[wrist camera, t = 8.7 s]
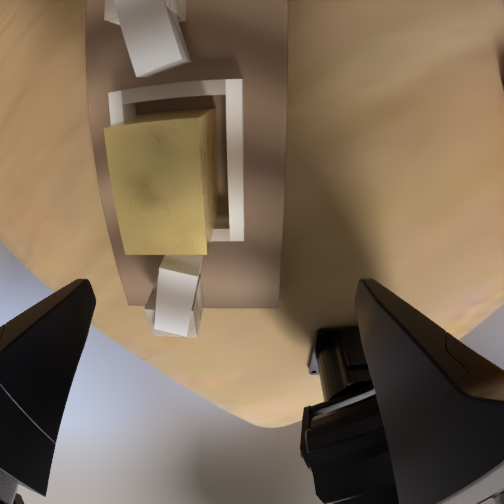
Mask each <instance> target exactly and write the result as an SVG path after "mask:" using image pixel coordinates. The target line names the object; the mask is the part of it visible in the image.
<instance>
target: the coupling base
mask: <svg viewBox="0 0 504 504" xmlns="http://www.w3.org/2000/svg"><path fill="white" fill-rule="evenodd" d="M86 75H87V92H88V106H89V117H90V126H91V135H92V143H93V150H94V157H95V164H96V170H97V176H98V182H99V188H100V193H101V199H102V204H103V209H104V213H105V218H106V223H107V227H108V232H109V236H110V240H111V244H112V248H113V252H114V256H115V260H116V264H117V267H118V271H119V275H120V278H121V282H122V285H123V289H124V292H125V295H126V299H127V302H128V305H134V306H145V309H144V310H145V314H146V317H147V320H148V324H149V327H150V330H151V334H152V335H155V336H172V337H194V338H198V332H199V327H200V321H201V316H202V310H203V308H278V304H279V288H280V272H281V255H282V236H283V215H284V193H285V166H286V133H287V83H288V0H87V11H86ZM202 107H216V115H217V149H218V176H219V200H220V205H219V209H218V213H217V217H216V221H215V225H214V229H213V233H212V237H211V242H210V246H209V250H208V254H207V255H125V251H124V247H123V242H122V238H121V233H120V229H119V224H118V219H117V214H116V209H115V203H114V198H113V192H112V186H111V180H110V173H109V167H108V160H107V152H106V144H105V136H104V128H105V127H108V126H110V125H113V124H116V123H118V122H121V121H124V120H127V119H129V118H132V117H135V116H138V115H141V114H144V113H147V112H154V111H163V110H174V109H186V108H202Z"/></svg>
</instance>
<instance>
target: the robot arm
mask: <svg viewBox="0 0 504 504" xmlns="http://www.w3.org/2000/svg"><path fill="white" fill-rule="evenodd" d="M95 306H96V298H95V295H94V292H93V289H92V286H91V284H90V281H89V280H88V279H77V280H75V281H73V282H71V283H70V284H68V285H66V286H65V287H63V288H61V289H60V290H58V291H56V292H55V293H53V294H51V295H50V296H48V297H47V298H45V299H43V300H42V301H40V302H38V303H37V304H35V305H34V306H32V307H30V308H29V309H27V310H26V311H24V312H23V313H21V314H19V315H18V316H16V317H15V318H14V319H12V320H10V321H9V322H7V323H6V324H4V325H3V326H1V327H0V504H24V502H23V500H22V497H21V495H19V494H17V493H16V492H17V488H18V485H19V484H20V485H22V486H24V487H26V488H28V489H30V490H32V491H34V492H36V493H38V494H40V495H42V496H46V492H47V486H48V479H49V475H50V469H51V464H52V459H53V454H54V449H55V443H56V440H57V436H58V432H59V427H60V424H61V420H62V416H63V412H64V409H65V405H66V401H67V398H68V394H69V391H70V388H71V385H72V381H73V378H74V375H75V372H76V369H77V365H78V362H79V360H80V357H81V354H82V351H83V348H84V345H85V342H86V339H87V336H88V332H89V328H90V324H91V320H92V317H93V313H94V309H95ZM355 309H356V314H357V320H358V325H359V327H344V328H325V329H319V330H318V331H317V332H316V336H315V341H314V346H313V351H312V356H311V360H310V365H309V374H311V375H316V374H320V379H321V385H322V391H323V396H324V402H322V403H319V404H316V405H313V406H307V407H304V412H303V419H302V432H301V444H300V450H301V457H302V458H303V459H304V460H305V463H306V465H307V466H308V468H309V469H310V471H312V473H313V477H314V483H315V490H316V495H317V496H318V497H319V499H320V500H321V501H322V502H323V503H324V504H329V503H333V504H504V370H502V369H501V368H499V367H498V366H496V365H495V364H493V363H491V362H490V361H489V360H487V359H485V358H484V357H482V356H481V355H479V354H478V353H476V352H475V351H473V350H472V349H470V348H469V347H467V346H466V345H464V344H463V343H462V342H460V341H459V340H457V339H456V338H455V337H453V336H452V335H451V334H449V333H448V332H446V331H445V330H444V329H443V328H441V327H440V326H439V325H437V324H436V323H434V322H433V321H432V320H430V319H429V318H428V317H426V316H425V315H424V314H422V313H421V312H419V311H418V310H417V309H415V308H414V307H412V306H411V305H410V304H408V303H407V302H405V301H404V300H403V299H401V298H400V297H398V296H397V295H395V294H394V293H393V292H391V291H390V290H388V289H387V288H385V287H384V286H383V285H381V284H380V283H378V282H377V281H375V280H374V279H372V278H367V279H361V280H360V281H359V283H358V288H357V292H356V297H355Z"/></svg>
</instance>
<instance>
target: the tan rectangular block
mask: <svg viewBox="0 0 504 504" xmlns="http://www.w3.org/2000/svg"><path fill="white" fill-rule="evenodd" d="M104 136H105V144H106V152H107V160H108V167H109V173H110V180H111V186H112V192H113V198H114V203H115V209H116V214H117V219H118V224H119V229H120V233H121V238H122V242H123V247H124V251H125V255H207V254H208V250H209V246H210V242H211V237H212V233H213V229H214V225H215V221H216V217H217V213H218V209H219V205H220V200H219V176H218V149H217V115H216V107H202V108H186V109H174V110H163V111H154V112H147V113H144V114H141V115H138V116H135V117H132V118H129V119H127V120H124V121H121V122H118V123H116V124H113V125H110V126H108V127H105V128H104Z"/></svg>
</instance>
